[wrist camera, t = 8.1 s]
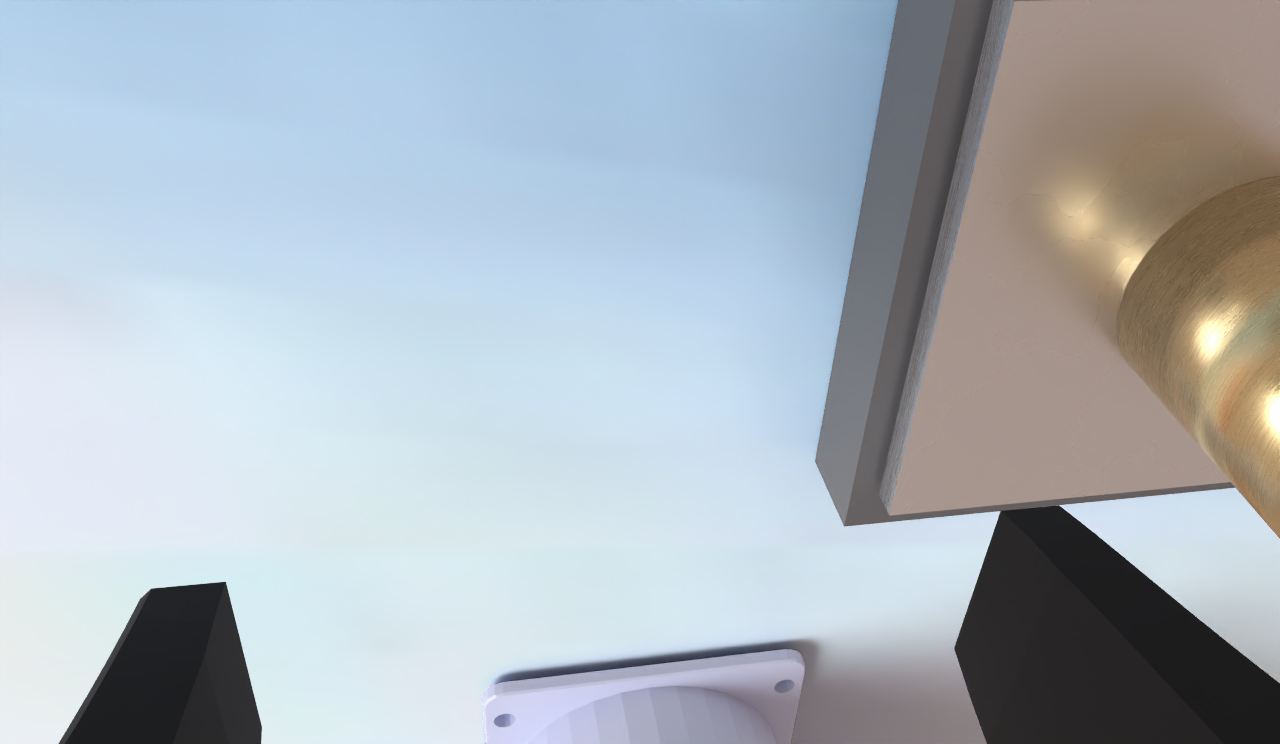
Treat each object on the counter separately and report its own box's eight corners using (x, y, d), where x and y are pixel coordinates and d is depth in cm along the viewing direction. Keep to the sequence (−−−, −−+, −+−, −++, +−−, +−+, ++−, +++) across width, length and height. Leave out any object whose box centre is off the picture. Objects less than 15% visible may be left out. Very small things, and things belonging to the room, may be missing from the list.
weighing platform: (1366, 448, 24) (1386, 466, 24) (878, 494, 22) (889, 515, 22) (1635, -25, 18) (1669, -12, 18) (996, -14, 16) (1014, 0, 16)
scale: (1414, 408, 27) (1517, 497, 24) (814, 461, 24) (862, 566, 22) (1728, -126, 20) (1917, -74, 17) (920, -125, 17) (1008, -66, 15)
